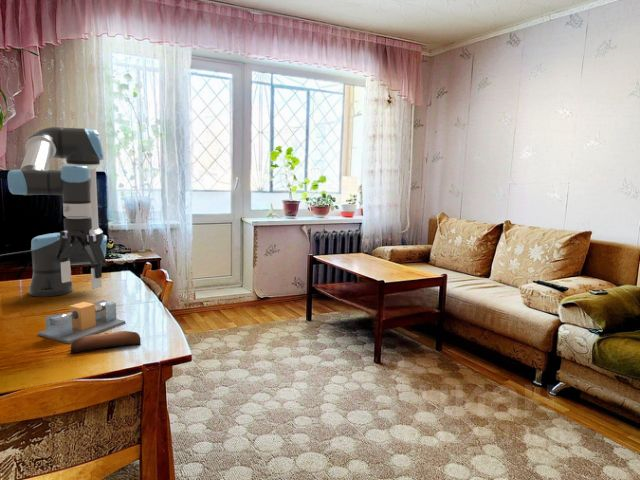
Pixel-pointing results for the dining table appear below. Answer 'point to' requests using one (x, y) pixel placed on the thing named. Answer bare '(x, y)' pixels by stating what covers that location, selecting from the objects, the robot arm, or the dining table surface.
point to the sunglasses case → (105, 340)
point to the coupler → (83, 315)
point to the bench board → (86, 331)
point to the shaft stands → (62, 323)
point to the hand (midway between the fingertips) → (81, 285)
